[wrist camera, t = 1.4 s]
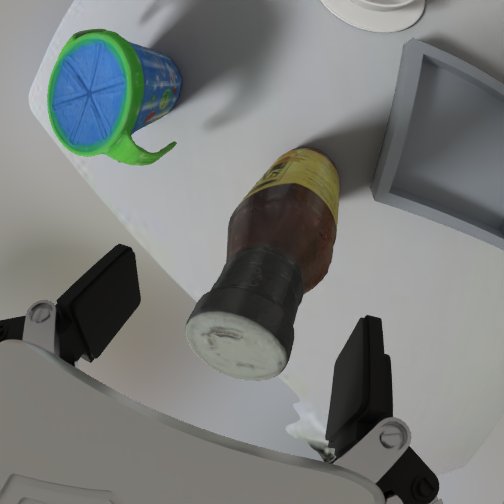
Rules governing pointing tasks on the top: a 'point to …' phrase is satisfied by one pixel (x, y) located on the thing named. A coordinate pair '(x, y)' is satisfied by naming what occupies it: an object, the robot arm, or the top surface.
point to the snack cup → (109, 95)
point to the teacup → (377, 13)
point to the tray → (445, 144)
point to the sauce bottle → (269, 267)
